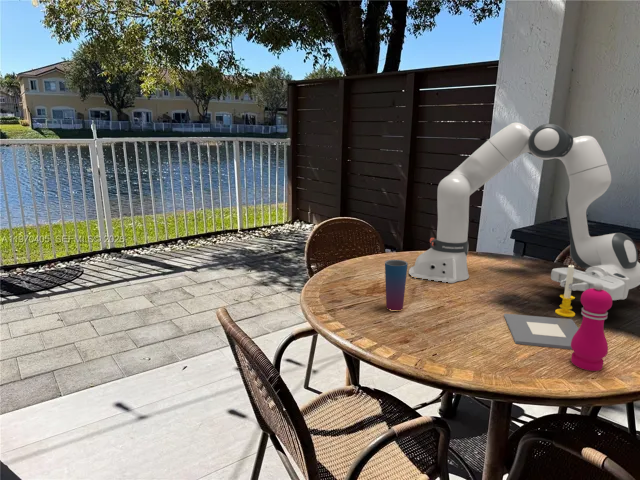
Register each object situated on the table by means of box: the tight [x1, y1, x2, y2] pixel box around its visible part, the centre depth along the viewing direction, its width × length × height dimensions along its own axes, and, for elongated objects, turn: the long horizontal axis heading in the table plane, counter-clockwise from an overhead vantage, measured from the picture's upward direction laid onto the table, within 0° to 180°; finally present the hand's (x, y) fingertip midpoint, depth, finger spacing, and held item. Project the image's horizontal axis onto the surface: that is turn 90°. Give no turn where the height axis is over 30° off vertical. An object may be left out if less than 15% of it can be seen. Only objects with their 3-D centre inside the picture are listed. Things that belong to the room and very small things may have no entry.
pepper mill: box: [570, 283, 613, 372], centre depth 96 cm, size 7×7×20 cm
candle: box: [554, 263, 576, 318], centre depth 125 cm, size 5×5×16 cm
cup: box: [384, 259, 408, 310], centre depth 129 cm, size 7×7×15 cm
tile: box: [503, 313, 580, 351], centre depth 114 cm, size 18×18×1 cm
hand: (566, 285), depth 124 cm, fingers closed on candle
